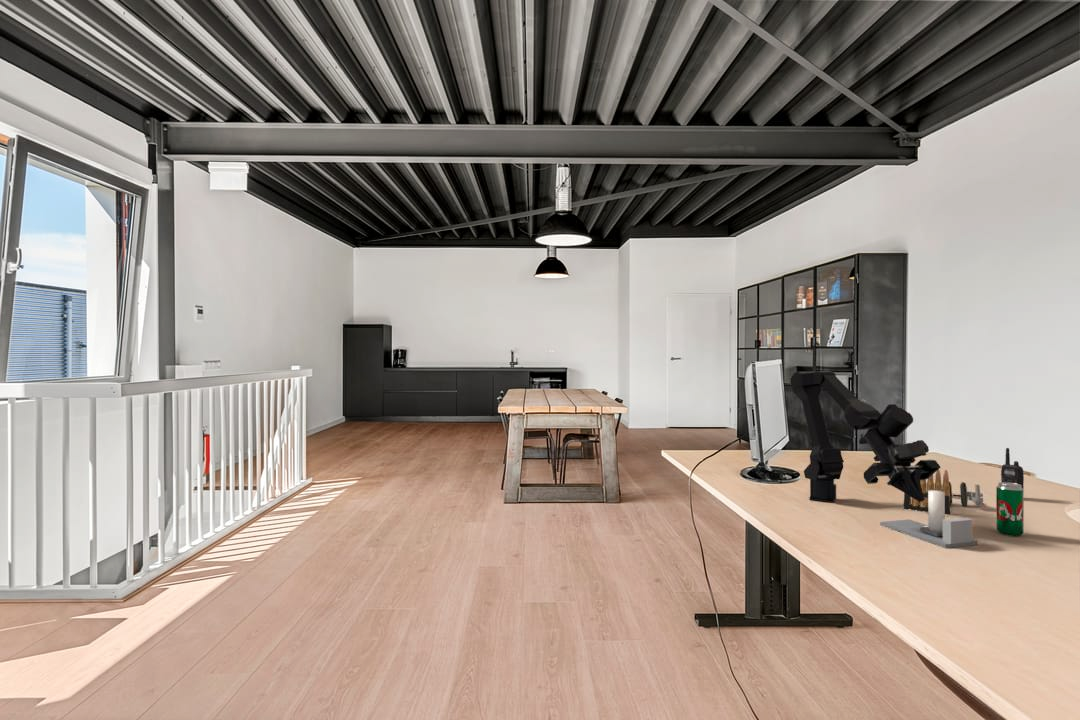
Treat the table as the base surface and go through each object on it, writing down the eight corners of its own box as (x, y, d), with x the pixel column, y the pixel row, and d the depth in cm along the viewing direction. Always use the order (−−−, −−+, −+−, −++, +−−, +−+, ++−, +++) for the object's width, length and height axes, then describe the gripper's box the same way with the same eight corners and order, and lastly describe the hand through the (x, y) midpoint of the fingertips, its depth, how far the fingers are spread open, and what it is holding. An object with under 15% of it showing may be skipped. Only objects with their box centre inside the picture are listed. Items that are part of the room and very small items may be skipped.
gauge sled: (920, 530, 136) (920, 489, 136) (943, 528, 138) (943, 488, 138) (937, 536, 132) (937, 494, 132) (961, 534, 134) (961, 492, 134)
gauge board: (880, 525, 145) (880, 502, 145) (909, 522, 147) (909, 500, 147) (945, 548, 127) (945, 522, 127) (977, 544, 129) (977, 519, 129)
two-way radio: (998, 496, 173) (998, 447, 172) (1006, 495, 174) (1006, 446, 174) (1020, 501, 168) (1020, 450, 167) (1028, 499, 169) (1028, 449, 169)
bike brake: (989, 509, 156) (973, 503, 174) (988, 484, 157) (971, 481, 175) (930, 504, 162) (919, 499, 180) (929, 480, 163) (918, 477, 181)
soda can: (1017, 531, 139) (1017, 482, 139) (1027, 537, 134) (1027, 486, 134) (992, 529, 140) (992, 481, 140) (1001, 535, 136) (1001, 485, 136)
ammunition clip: (950, 513, 155) (950, 469, 155) (950, 515, 154) (950, 470, 154) (904, 507, 161) (903, 465, 161) (903, 509, 160) (903, 466, 160)
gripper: (872, 430, 141) (911, 485, 130) (933, 428, 145) (975, 480, 135) (848, 456, 149) (882, 510, 138) (907, 453, 153) (944, 505, 142)
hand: (922, 501), depth 138 cm, fingers closed
